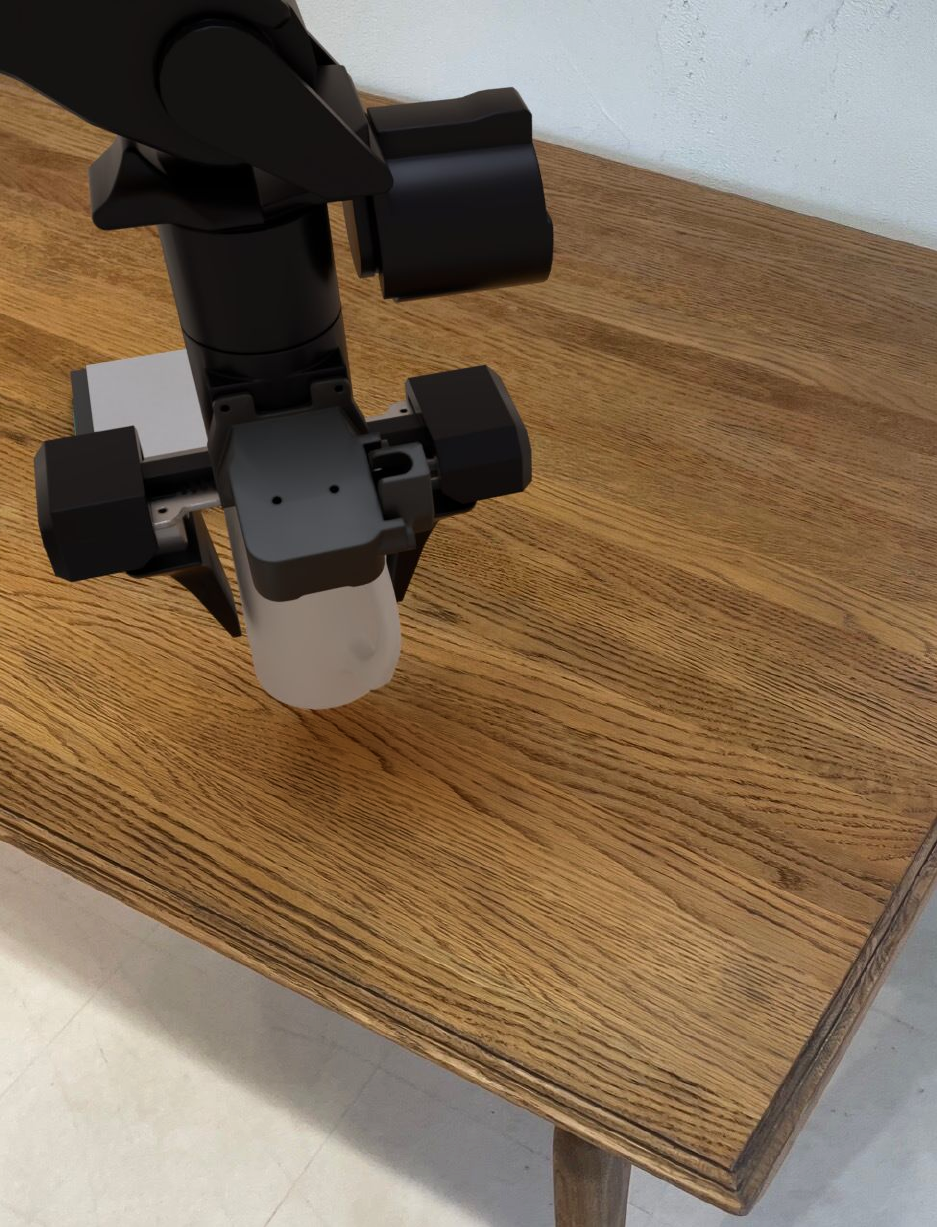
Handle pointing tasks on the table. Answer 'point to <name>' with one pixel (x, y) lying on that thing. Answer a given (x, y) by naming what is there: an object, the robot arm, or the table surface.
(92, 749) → the table surface
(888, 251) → the table surface
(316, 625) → the mug
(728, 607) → the table surface
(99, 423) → the scale
